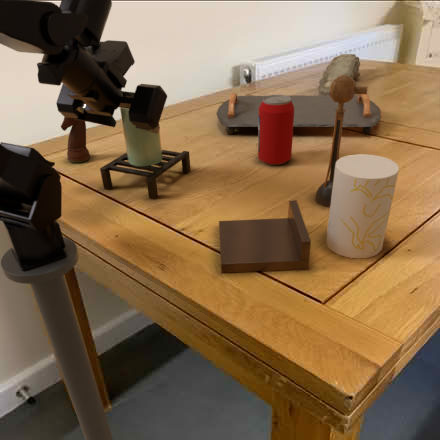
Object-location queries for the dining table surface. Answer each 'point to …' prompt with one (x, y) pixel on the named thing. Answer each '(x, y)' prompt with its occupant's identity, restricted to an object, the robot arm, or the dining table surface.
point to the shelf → (265, 243)
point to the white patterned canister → (360, 204)
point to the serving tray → (302, 112)
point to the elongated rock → (339, 71)
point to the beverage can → (275, 129)
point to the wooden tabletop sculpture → (337, 130)
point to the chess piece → (76, 140)
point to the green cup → (140, 143)
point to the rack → (149, 176)
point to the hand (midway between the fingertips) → (136, 127)
